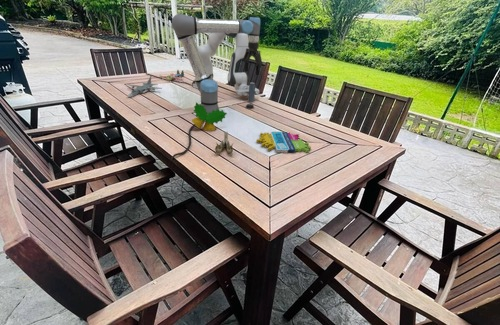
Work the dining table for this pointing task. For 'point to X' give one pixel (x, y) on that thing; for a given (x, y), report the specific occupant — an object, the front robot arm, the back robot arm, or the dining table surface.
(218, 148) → the jawbone
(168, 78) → the toy
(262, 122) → the dining table surface
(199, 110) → the ornament
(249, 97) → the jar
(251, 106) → the lid
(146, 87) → the airplane
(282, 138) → the packaged colorful gloves
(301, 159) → the dining table surface
